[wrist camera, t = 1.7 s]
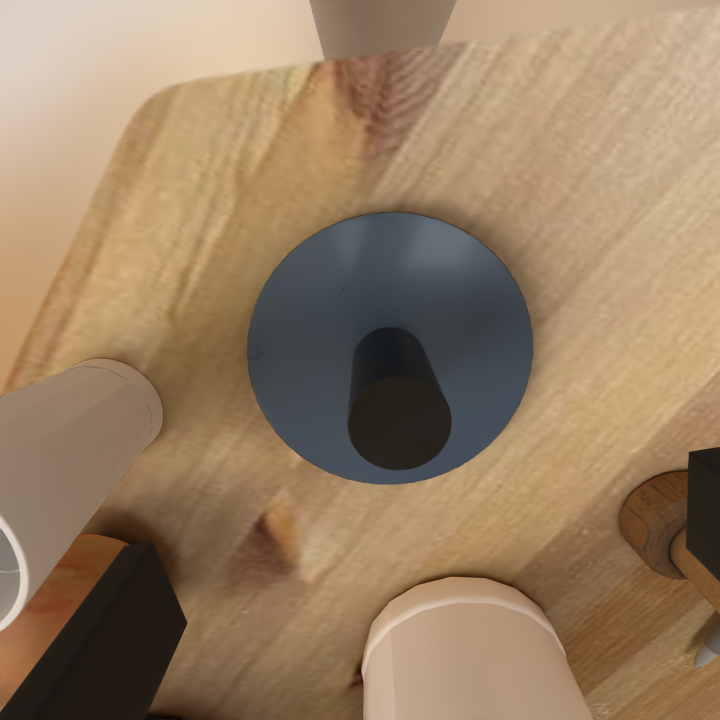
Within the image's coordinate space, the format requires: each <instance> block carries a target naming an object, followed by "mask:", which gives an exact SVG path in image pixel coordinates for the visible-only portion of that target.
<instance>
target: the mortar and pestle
mask: <svg viewBox="0 0 720 720" xmlns="http://www.w3.org/2000/svg"><path fill="white" fill-rule="evenodd" d="M687 494H688V471H687V472H672V473H667V474H664V475H660V476H658V477H655V478H653V479H651V480H649V481H647V482H646V483H644V484H643V485H641V486H640V487H639V488H638V489H636V490H635V491H634V492H633V493H632V494H631V495H630V497H629V498H628V499H627V501H626V503H625V504H624V507H623V509H622V511H621V515H620V528H621V532H622V534H623V536H624V538H625V539H626V541H627V542H628V543H629V544H630V546H631V547H632V548H633V549H634V550H635V551H636V552H637V554H638V555H639V556H640V557H641V559H642V560H643V561H644V562H645V563H646V564H647V565H648V566H649V567H650V568H651V569H652V570H654V571H655V572H657V573H658V574H660V575H663V576H665V577H668V578H672V579H679V580H690V581H691V583H692V584H693V585H694V586H695V587H696V588H697V589H698V590H699V591H700V593H701V594H702V595H703V596H704V597H705V598H706V599H707V600H708V601H709V603H710V604H711V605H712V606H713V607H714V608H715V609H716V610H717V611H718V613H719V614H720V582H719V581H718V580H717V579H716V578H715V577H714V576H713V575H712V574H711V573H710V572H709V571H708V570H707V569H706V568H705V567H704V566H703V565H702V564H701V563H700V562H699V561H698V560H697V559H696V558H695V557H694V556H693V555H692V554H691V553H690V552H689V551H688V550H687V549H686V525H687Z"/></svg>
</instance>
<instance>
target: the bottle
mask: <svg viewBox="0 0 720 720" xmlns="http://www.w3.org/2000/svg"><path fill="white" fill-rule="evenodd" d="M361 671H362V676H363V681H364V713H363V720H594V719H593V717H592V714H591V712H590V710H589V708H588V706H587V704H586V701H585V699H584V697H583V695H582V693H581V691H580V688H579V686H578V684H577V682H576V680H575V678H574V675H573V673H572V671H571V669H570V667H569V664H568V662H567V660H566V652H565V650H564V648H563V646H562V644H561V642H560V640H559V638H558V636H557V635H556V633H555V631H554V629H553V627H552V625H551V624H550V622H549V621H548V619H547V617H546V616H545V614H544V613H543V611H542V610H541V608H540V607H539V606H538V605H536V604H535V603H534V602H532V601H531V600H530V599H529V598H527V597H526V596H525V595H523V594H522V593H521V592H520V591H518V590H517V589H516V588H513V587H510V586H507V585H504V584H501V583H498V582H495V581H492V580H489V579H486V578H470V577H448V578H444V579H440V580H436V581H432V582H428V583H424V584H420V585H417V586H415V587H413V588H412V589H410V590H408V591H406V592H405V593H403V594H401V595H400V596H398V597H396V598H395V599H393V600H391V601H390V602H389V603H388V604H387V606H386V607H385V608H384V609H383V610H382V612H381V613H380V614H379V615H378V617H377V618H376V619H375V620H374V621H373V623H372V625H371V628H370V632H369V635H368V639H367V642H366V646H365V649H364V656H363V662H362V669H361Z"/></svg>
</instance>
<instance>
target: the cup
mask: <svg viewBox="0 0 720 720" xmlns="http://www.w3.org/2000/svg"><path fill="white" fill-rule="evenodd" d="M162 423H163V408H162V403H161V400H160V397H159V395H158V393H157V391H156V390H155V388H154V387H153V385H152V384H151V383H150V381H149V380H148V379H147V378H146V377H145V376H144V375H142V374H141V373H140V372H139V371H137V370H136V369H134V368H133V367H131V366H129V365H127V364H124V363H122V362H119V361H116V360H111V359H90V360H86V361H83V362H81V363H78V364H76V365H74V366H72V367H70V368H68V369H66V370H64V371H63V372H61V373H59V374H56V375H54V376H51V377H49V378H46V379H43V380H41V381H38V382H36V383H33V384H30V385H28V386H25V387H23V388H20V389H17V390H15V391H12V392H10V393H7V394H4V395H2V396H0V631H2V630H3V629H5V628H6V627H7V626H9V625H10V624H11V623H12V622H13V621H14V620H15V619H16V618H17V617H18V615H19V614H20V613H21V611H22V610H23V609H24V607H25V606H26V605H27V603H28V602H29V601H30V599H31V598H32V597H33V595H34V594H35V593H36V591H37V590H38V589H39V587H40V586H41V585H42V583H43V582H44V581H45V579H46V578H47V577H48V575H49V574H50V573H51V571H52V570H53V569H54V567H55V566H56V565H57V563H58V562H59V561H60V559H61V558H62V557H63V555H64V554H65V553H66V551H67V550H68V549H69V547H70V546H71V544H72V543H73V541H74V540H75V538H76V537H77V536H78V535H79V533H80V532H81V531H82V529H83V528H84V527H85V526H86V524H87V523H88V522H89V520H90V519H91V518H92V517H93V515H94V514H95V513H96V511H97V510H98V509H99V508H100V506H101V505H102V504H103V502H104V501H105V500H106V499H107V497H108V496H109V495H110V493H111V492H112V491H113V489H114V488H115V487H116V486H117V484H118V483H119V482H120V480H121V479H122V478H123V477H124V475H125V474H126V473H127V471H128V470H129V469H130V468H131V466H132V465H133V464H134V462H135V461H136V460H137V459H138V457H139V456H140V455H141V453H142V452H143V451H144V450H145V449H146V448H147V447H148V446H149V445H150V444H151V443H152V442H153V441H154V440H155V439H156V437H157V436H158V434H159V432H160V430H161V427H162Z"/></svg>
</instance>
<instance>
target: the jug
mask: <svg viewBox="0 0 720 720" xmlns="http://www.w3.org/2000/svg"><path fill="white" fill-rule="evenodd" d="M145 720H177V719H172V718H162V719H160V718H152V717H146V718H145Z"/></svg>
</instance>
